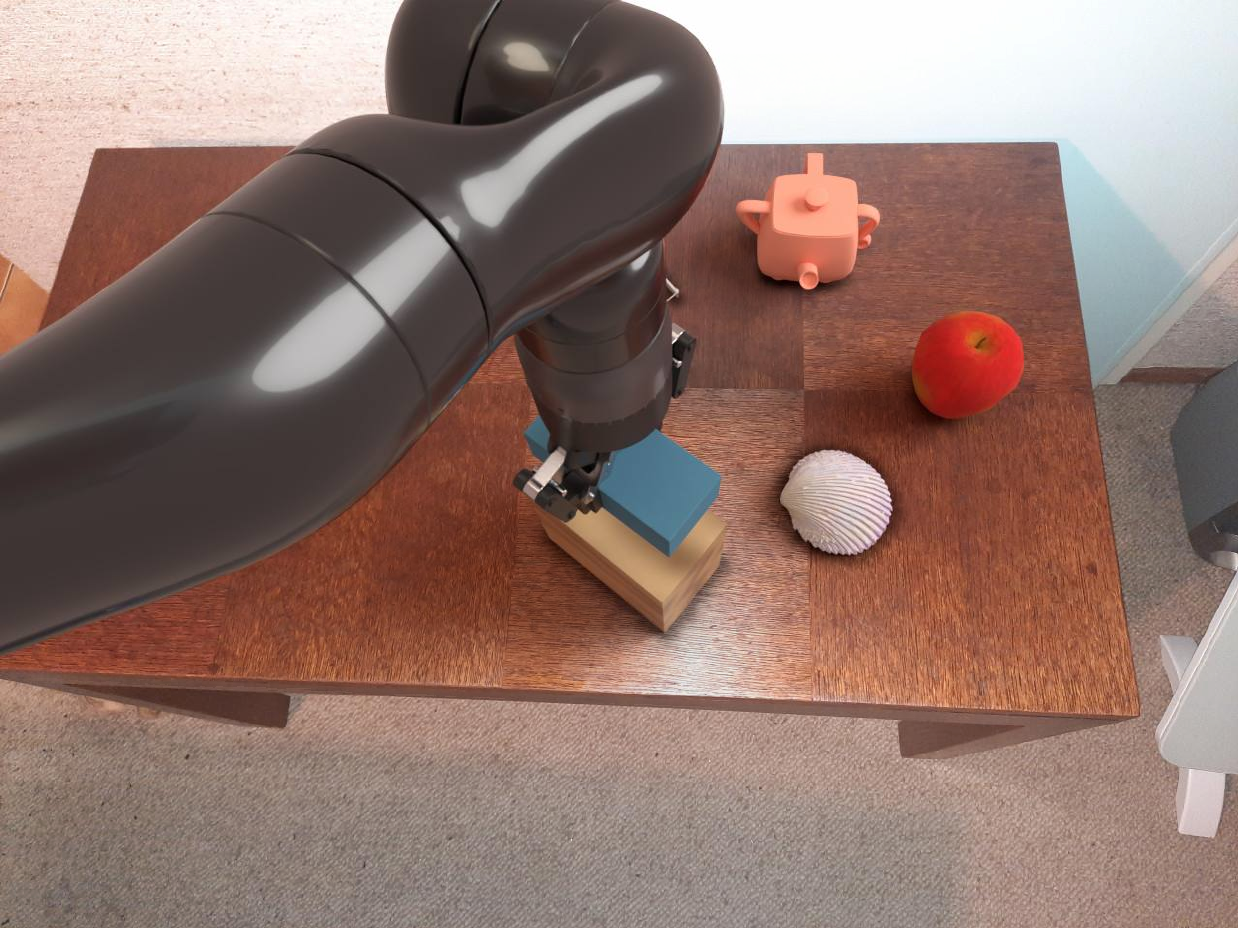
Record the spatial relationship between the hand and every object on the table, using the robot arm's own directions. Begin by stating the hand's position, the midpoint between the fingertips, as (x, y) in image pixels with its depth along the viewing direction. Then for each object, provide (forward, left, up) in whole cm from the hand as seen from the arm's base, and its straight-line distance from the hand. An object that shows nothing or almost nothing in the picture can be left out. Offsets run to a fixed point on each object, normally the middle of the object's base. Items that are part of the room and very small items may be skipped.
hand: (617, 467), depth 58 cm
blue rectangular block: (0, 0, 0) cm, 1 cm away
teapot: (+29, +21, -23) cm, 43 cm away
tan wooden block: (0, 0, -23) cm, 23 cm away
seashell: (+19, -4, -23) cm, 30 cm away
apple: (+34, +1, -23) cm, 41 cm away
